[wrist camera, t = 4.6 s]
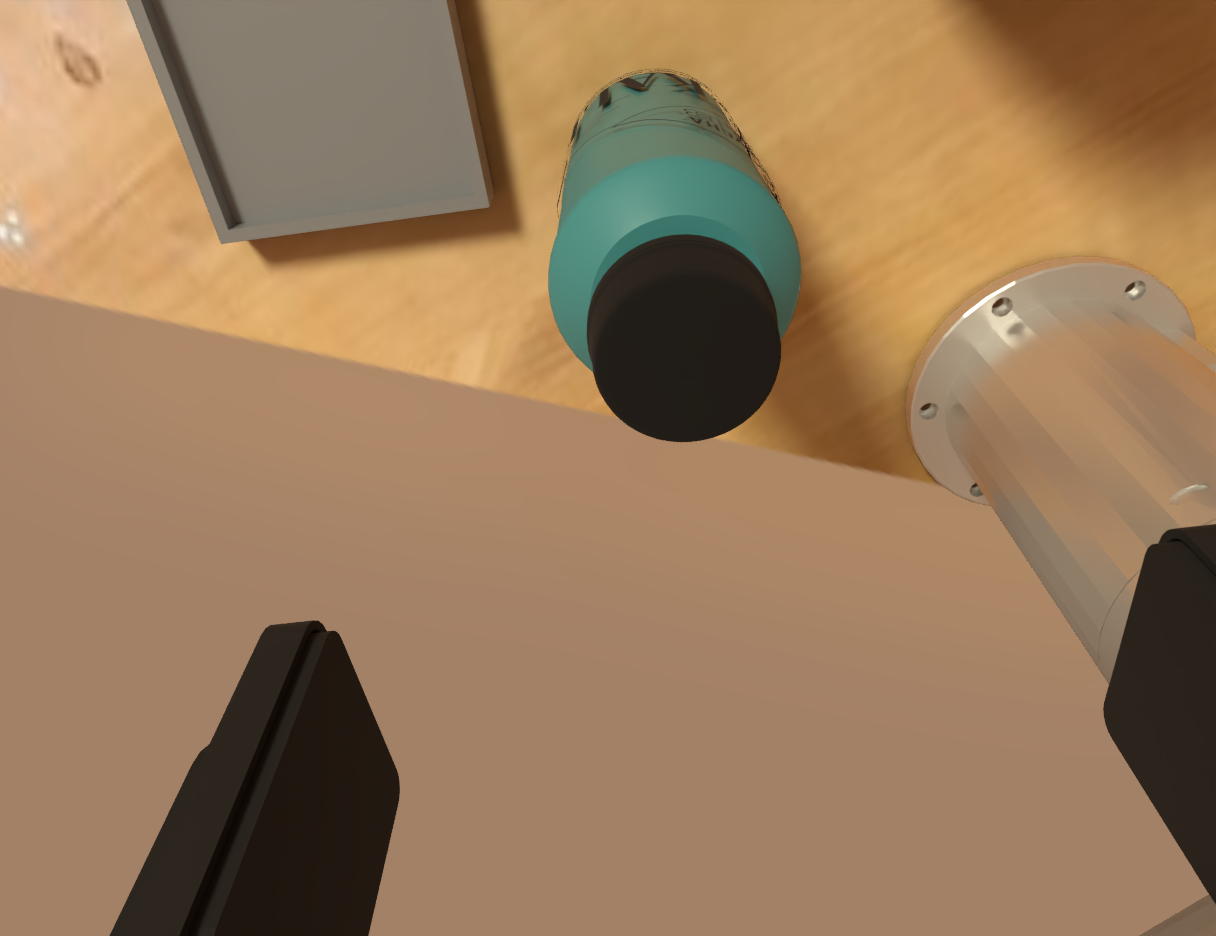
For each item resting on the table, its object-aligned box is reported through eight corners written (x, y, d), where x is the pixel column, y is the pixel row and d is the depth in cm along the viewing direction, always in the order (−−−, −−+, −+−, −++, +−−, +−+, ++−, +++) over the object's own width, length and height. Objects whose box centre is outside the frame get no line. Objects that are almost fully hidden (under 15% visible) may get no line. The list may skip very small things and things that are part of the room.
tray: (428, -131, 29) (418, -134, 27) (494, 194, 35) (489, 207, 33) (121, -80, 30) (95, -80, 28) (237, 230, 35) (221, 243, 34)
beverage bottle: (687, 253, 36) (758, 542, 19) (542, 190, 35) (482, 443, 18) (762, 102, 33) (926, 291, 16) (605, 25, 31) (603, 145, 15)
